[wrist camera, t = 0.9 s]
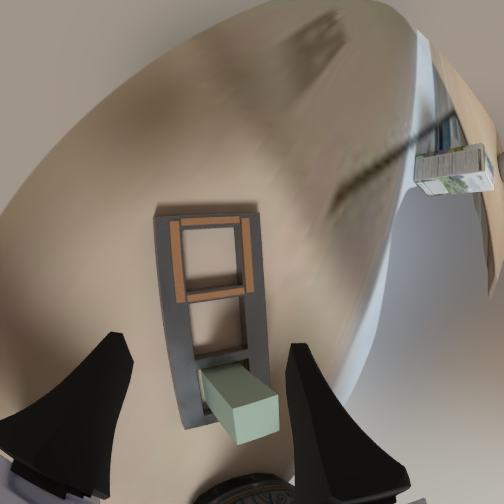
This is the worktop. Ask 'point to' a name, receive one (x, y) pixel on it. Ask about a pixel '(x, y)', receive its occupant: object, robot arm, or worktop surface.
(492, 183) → the syrup box
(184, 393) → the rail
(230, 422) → the peg
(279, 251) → the worktop surface
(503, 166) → the canister
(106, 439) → the robot arm
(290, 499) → the beer stein
